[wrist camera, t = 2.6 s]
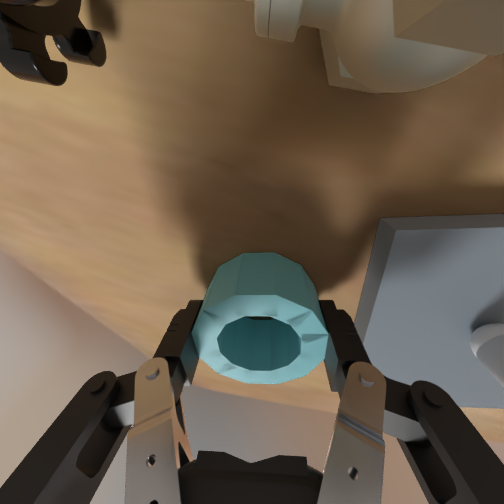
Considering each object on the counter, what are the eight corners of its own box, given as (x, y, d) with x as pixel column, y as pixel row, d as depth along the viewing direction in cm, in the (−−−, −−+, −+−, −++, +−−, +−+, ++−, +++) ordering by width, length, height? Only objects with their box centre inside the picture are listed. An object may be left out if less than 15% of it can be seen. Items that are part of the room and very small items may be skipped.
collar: (318, 251, 12) (336, 294, 9) (309, 332, 15) (320, 385, 12) (201, 253, 12) (179, 295, 9) (217, 331, 15) (205, 382, 12)
